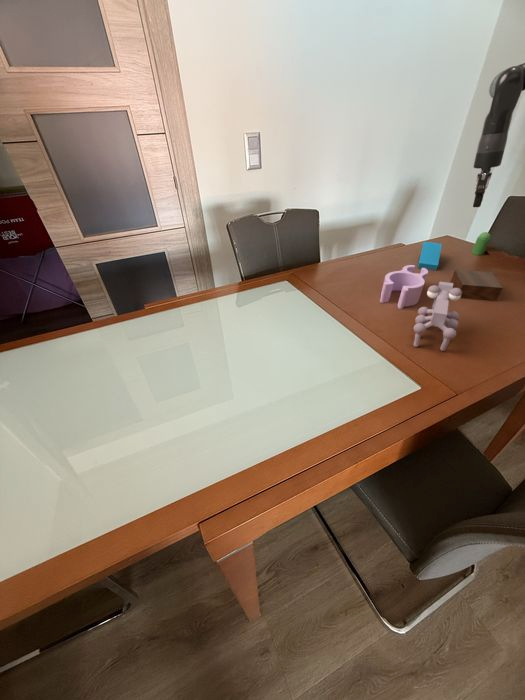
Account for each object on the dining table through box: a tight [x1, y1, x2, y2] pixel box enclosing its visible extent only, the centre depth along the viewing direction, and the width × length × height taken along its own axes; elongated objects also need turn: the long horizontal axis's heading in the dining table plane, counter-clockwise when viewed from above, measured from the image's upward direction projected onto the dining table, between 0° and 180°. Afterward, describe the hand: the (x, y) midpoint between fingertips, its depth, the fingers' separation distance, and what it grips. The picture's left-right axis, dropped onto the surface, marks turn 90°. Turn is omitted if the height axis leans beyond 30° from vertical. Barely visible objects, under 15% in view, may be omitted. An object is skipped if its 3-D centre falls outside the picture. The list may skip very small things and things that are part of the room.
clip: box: [379, 264, 429, 310], centre depth 106 cm, size 20×12×7 cm, turn 137°
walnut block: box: [449, 269, 504, 302], centre depth 107 cm, size 12×12×5 cm
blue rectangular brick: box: [417, 241, 443, 271], centre depth 128 cm, size 7×7×18 cm
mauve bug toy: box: [413, 281, 462, 352], centre depth 86 cm, size 20×11×14 cm, turn 152°
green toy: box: [471, 231, 491, 256], centre depth 130 cm, size 5×5×9 cm
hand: (477, 204), depth 107 cm, fingers open, 8 cm apart
